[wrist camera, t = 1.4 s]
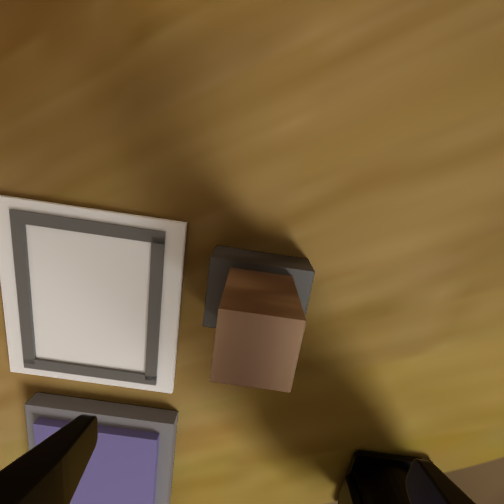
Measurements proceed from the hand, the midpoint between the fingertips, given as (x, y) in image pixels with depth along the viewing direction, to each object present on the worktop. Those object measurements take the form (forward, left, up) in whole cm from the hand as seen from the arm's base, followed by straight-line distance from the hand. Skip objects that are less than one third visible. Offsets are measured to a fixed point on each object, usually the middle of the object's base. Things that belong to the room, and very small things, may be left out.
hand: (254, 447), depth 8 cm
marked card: (+11, +3, -12) cm, 16 cm away
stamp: (0, 0, -12) cm, 12 cm away
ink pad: (+10, +17, -12) cm, 23 cm away
